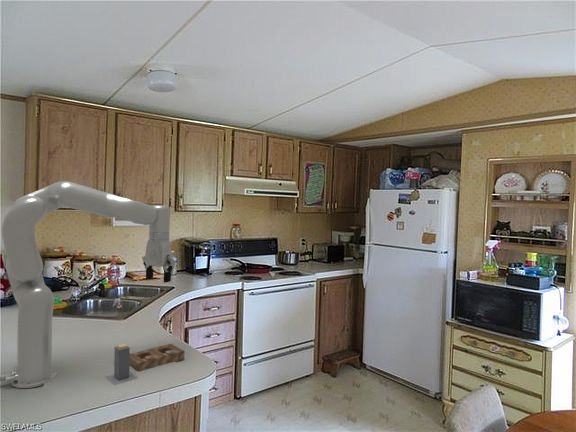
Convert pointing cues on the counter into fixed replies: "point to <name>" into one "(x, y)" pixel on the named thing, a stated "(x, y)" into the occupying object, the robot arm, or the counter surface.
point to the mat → (115, 381)
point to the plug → (121, 362)
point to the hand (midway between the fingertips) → (158, 280)
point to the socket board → (155, 357)
